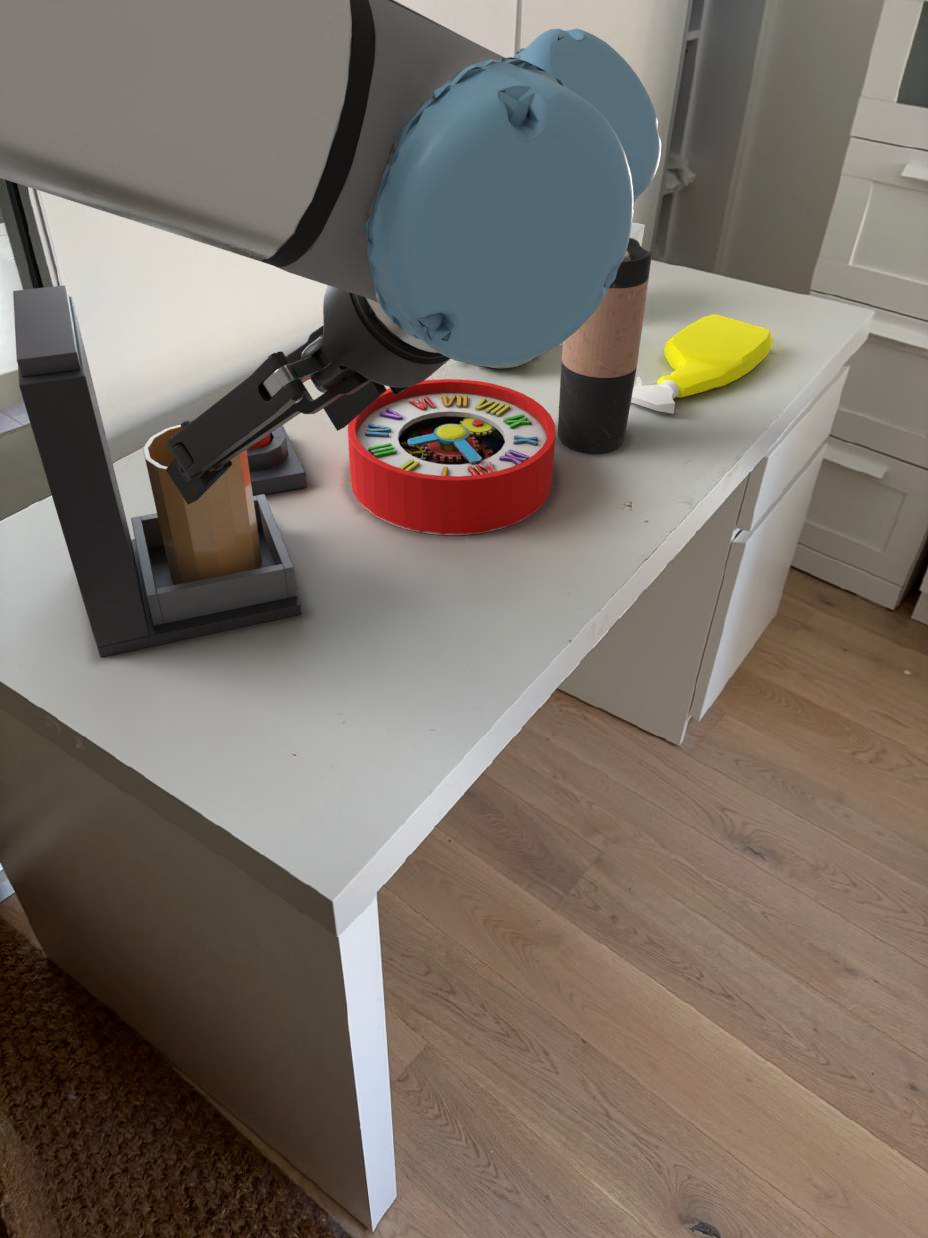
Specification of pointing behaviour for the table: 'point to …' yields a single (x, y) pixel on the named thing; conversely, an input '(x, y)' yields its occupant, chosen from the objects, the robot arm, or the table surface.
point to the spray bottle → (705, 360)
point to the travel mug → (605, 361)
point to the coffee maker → (93, 510)
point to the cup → (204, 518)
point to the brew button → (261, 442)
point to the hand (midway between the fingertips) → (260, 447)
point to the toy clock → (452, 457)
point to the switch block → (275, 466)
